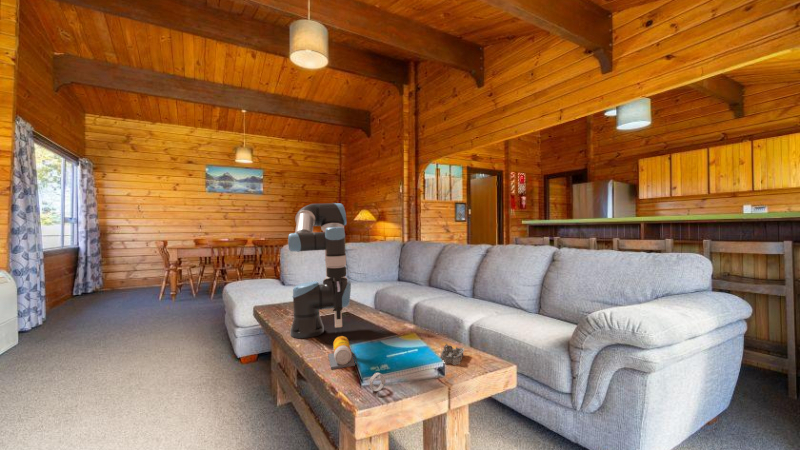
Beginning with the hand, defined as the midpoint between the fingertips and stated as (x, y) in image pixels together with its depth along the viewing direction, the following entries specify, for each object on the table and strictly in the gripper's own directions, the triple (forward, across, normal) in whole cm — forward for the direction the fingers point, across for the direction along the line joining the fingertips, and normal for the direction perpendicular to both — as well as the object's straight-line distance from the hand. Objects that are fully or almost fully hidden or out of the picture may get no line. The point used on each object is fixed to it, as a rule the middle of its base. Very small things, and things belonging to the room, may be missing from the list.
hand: (338, 326), depth 140 cm
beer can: (+7, -1, +1) cm, 7 cm away
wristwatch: (+11, +35, +8) cm, 37 cm away
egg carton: (+11, +21, +39) cm, 45 cm away
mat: (+10, +8, 0) cm, 13 cm away
